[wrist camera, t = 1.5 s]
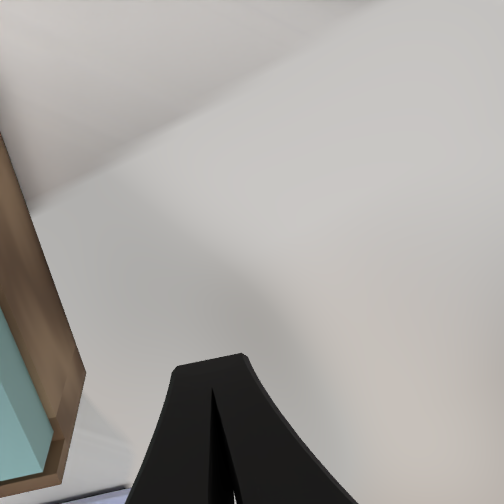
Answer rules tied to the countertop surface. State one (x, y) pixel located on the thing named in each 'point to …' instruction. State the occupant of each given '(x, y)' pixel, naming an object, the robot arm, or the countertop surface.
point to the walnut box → (37, 329)
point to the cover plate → (19, 414)
